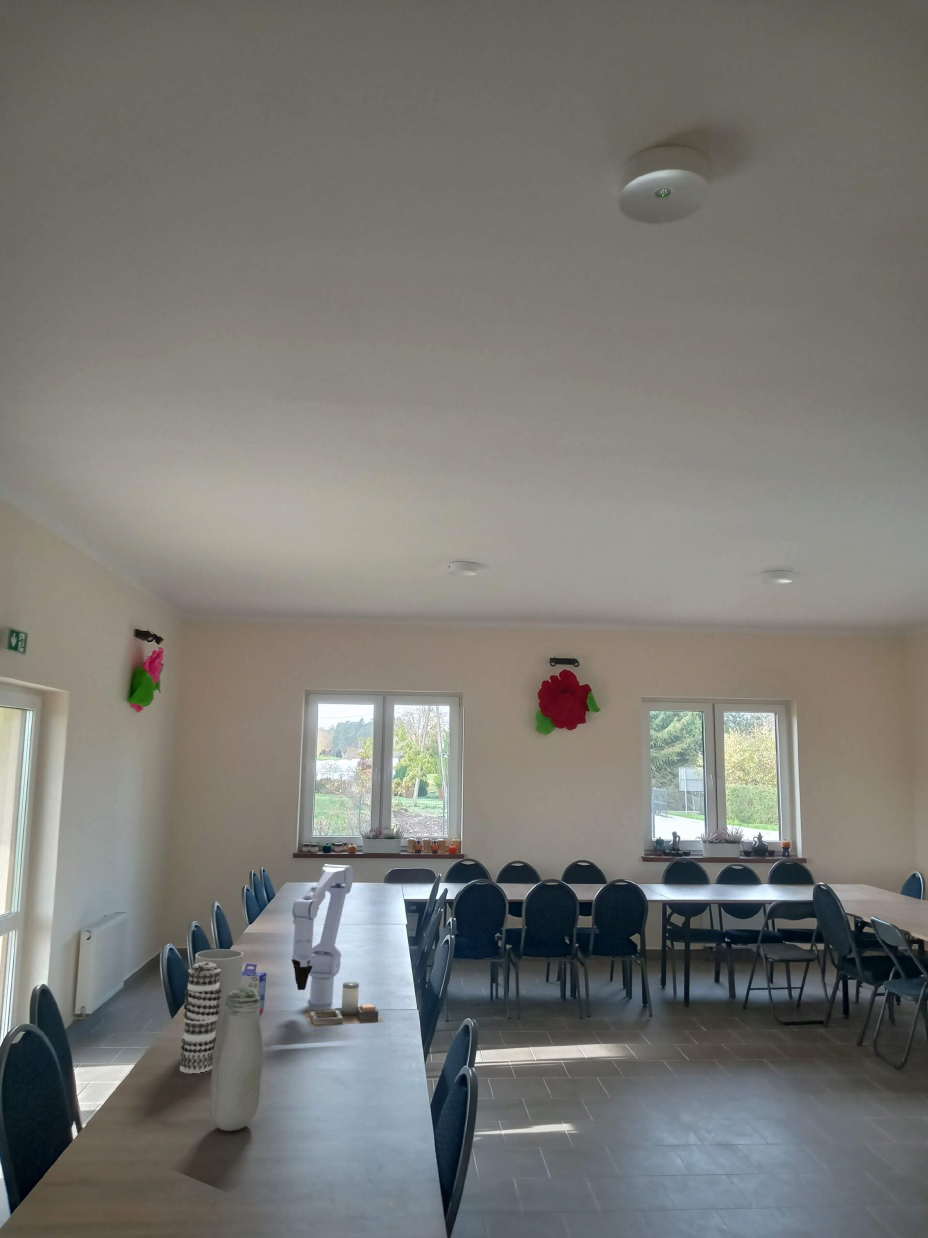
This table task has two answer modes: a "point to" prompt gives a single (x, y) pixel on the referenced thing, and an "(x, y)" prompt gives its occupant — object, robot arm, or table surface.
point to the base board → (340, 1017)
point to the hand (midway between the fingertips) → (300, 986)
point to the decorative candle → (200, 1018)
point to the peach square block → (367, 1007)
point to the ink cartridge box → (255, 982)
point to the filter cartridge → (350, 997)
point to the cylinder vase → (224, 974)
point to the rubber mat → (344, 1013)
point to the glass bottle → (237, 1062)
